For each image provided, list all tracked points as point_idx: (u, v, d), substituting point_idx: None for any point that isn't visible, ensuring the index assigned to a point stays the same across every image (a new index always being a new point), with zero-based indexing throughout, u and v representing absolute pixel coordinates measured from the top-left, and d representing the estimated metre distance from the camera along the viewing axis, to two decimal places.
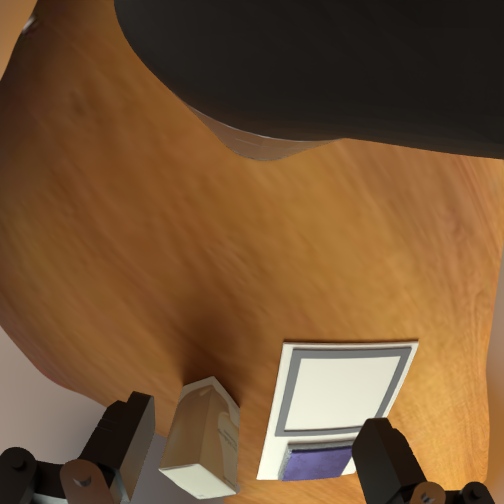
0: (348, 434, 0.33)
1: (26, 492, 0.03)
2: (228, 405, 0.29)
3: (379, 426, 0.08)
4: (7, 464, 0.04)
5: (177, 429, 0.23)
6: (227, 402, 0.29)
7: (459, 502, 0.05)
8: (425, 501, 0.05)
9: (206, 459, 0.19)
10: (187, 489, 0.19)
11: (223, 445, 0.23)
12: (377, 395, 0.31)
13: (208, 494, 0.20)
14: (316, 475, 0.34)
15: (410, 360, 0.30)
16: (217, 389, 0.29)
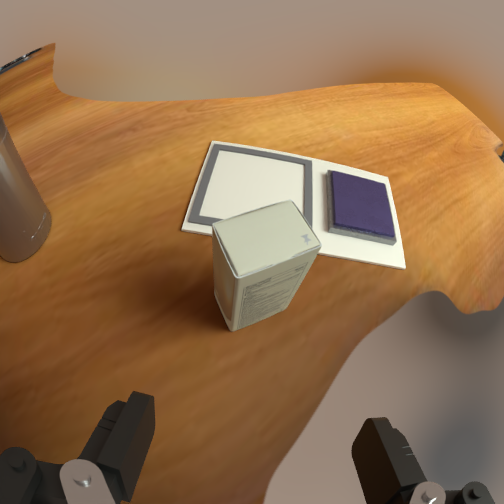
0: (316, 181, 0.39)
1: (26, 492, 0.03)
2: None
3: (379, 426, 0.08)
4: (7, 464, 0.04)
5: (227, 294, 0.22)
6: None
7: (459, 502, 0.05)
8: (425, 501, 0.05)
9: None
10: (289, 251, 0.18)
11: None
12: (263, 162, 0.39)
13: (298, 228, 0.19)
14: (381, 202, 0.36)
15: (228, 144, 0.41)
16: None
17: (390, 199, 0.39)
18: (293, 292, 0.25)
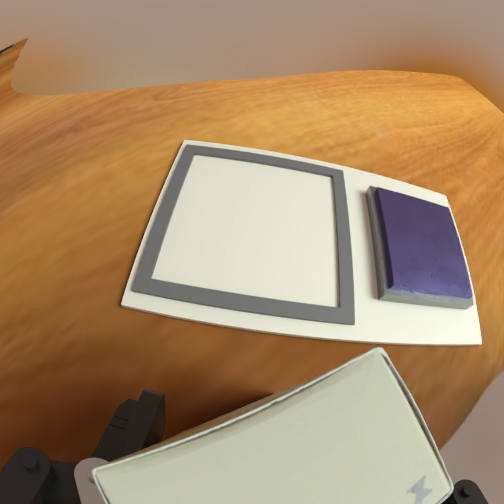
0: (352, 205, 0.23)
1: (38, 493, 0.04)
2: (234, 411, 0.13)
3: None
4: (20, 464, 0.04)
5: None
6: (227, 413, 0.13)
7: (449, 501, 0.05)
8: None
9: (143, 451, 0.05)
10: None
11: (234, 413, 0.08)
12: (265, 173, 0.24)
13: (402, 464, 0.04)
14: (450, 240, 0.21)
15: (210, 144, 0.25)
16: None
17: None
18: None
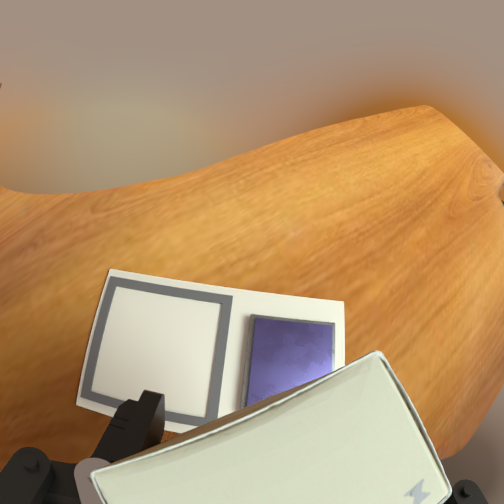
0: (234, 331, 0.30)
1: (38, 493, 0.04)
2: None
3: None
4: (20, 464, 0.04)
5: None
6: None
7: (449, 501, 0.05)
8: None
9: (141, 454, 0.05)
10: None
11: (233, 415, 0.08)
12: (166, 305, 0.30)
13: (401, 468, 0.04)
14: (320, 362, 0.27)
15: (128, 274, 0.31)
16: None
17: (340, 341, 0.30)
18: None
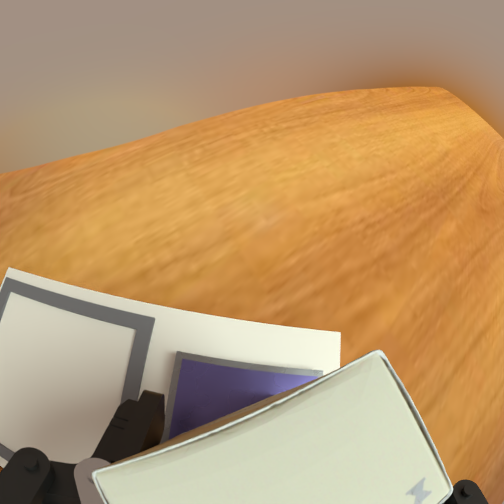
0: (152, 376, 0.17)
1: (38, 493, 0.04)
2: None
3: None
4: (20, 464, 0.04)
5: None
6: None
7: (450, 501, 0.05)
8: None
9: (142, 453, 0.05)
10: None
11: (234, 415, 0.08)
12: (62, 324, 0.17)
13: (402, 466, 0.04)
14: None
15: (25, 275, 0.19)
16: None
17: None
18: None
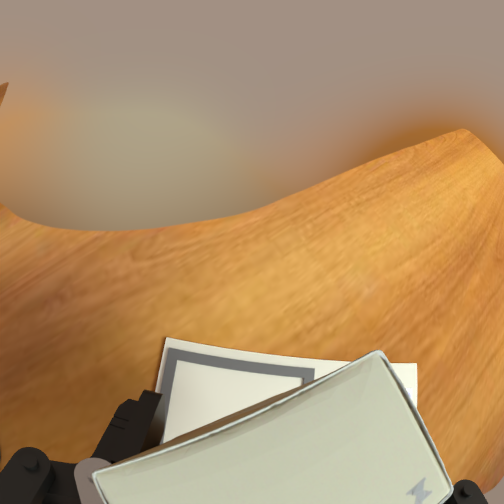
0: None
1: (38, 493, 0.04)
2: (233, 413, 0.13)
3: None
4: (20, 464, 0.04)
5: None
6: (227, 416, 0.13)
7: (449, 501, 0.05)
8: None
9: (143, 454, 0.05)
10: None
11: None
12: (241, 382, 0.26)
13: (402, 466, 0.04)
14: None
15: (190, 344, 0.27)
16: None
17: None
18: None
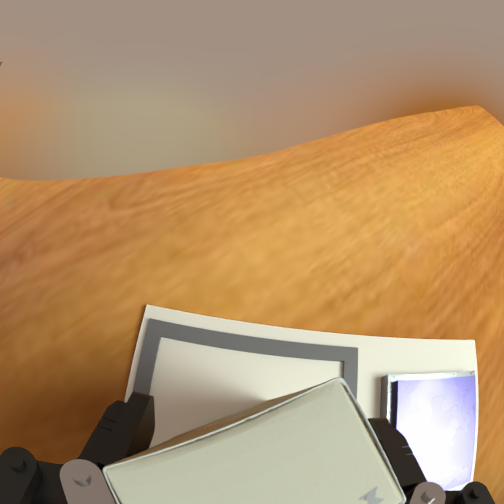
0: (363, 402, 0.17)
1: (26, 493, 0.03)
2: (227, 416, 0.14)
3: (379, 426, 0.08)
4: (7, 464, 0.04)
5: None
6: (221, 418, 0.14)
7: (459, 502, 0.05)
8: (425, 501, 0.05)
9: (143, 453, 0.06)
10: None
11: (223, 421, 0.09)
12: (255, 369, 0.18)
13: (355, 475, 0.05)
14: (466, 425, 0.14)
15: (180, 315, 0.19)
16: (190, 430, 0.14)
17: None
18: None
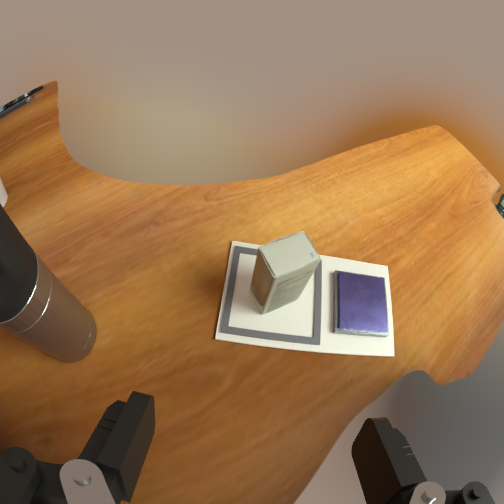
0: (325, 281, 0.45)
1: (26, 493, 0.03)
2: None
3: (379, 426, 0.08)
4: (7, 464, 0.04)
5: (264, 288, 0.36)
6: None
7: (459, 502, 0.05)
8: (425, 501, 0.05)
9: None
10: (303, 262, 0.32)
11: None
12: None
13: (307, 248, 0.33)
14: (379, 300, 0.43)
15: (247, 244, 0.47)
16: None
17: (387, 290, 0.46)
18: (303, 287, 0.39)
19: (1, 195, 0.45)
